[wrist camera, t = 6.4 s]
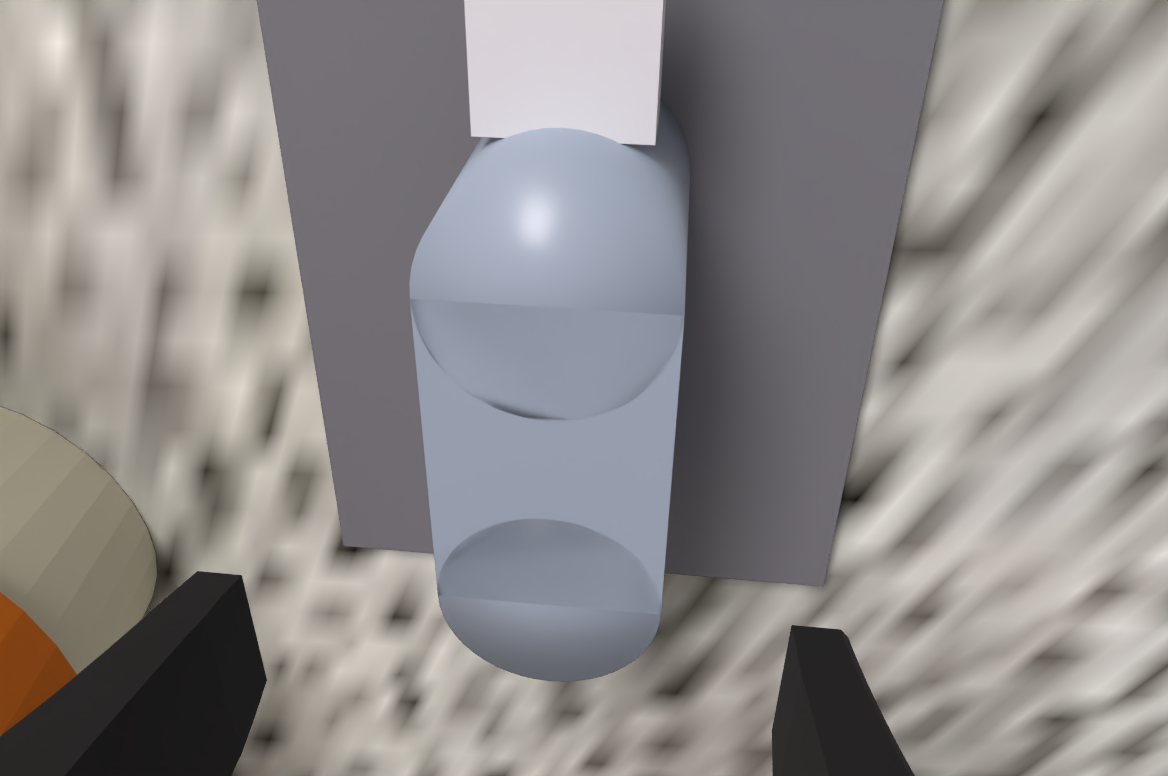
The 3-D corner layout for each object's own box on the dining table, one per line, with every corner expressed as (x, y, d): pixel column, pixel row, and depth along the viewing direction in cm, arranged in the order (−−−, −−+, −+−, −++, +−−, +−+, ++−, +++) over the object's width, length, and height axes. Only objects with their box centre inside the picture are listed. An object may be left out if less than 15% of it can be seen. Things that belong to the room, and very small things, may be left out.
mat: (821, 572, 24) (823, 586, 24) (349, 532, 25) (343, 545, 25) (970, -170, 15) (978, -168, 15) (238, -188, 16) (226, -186, 16)
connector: (665, 503, 23) (654, 690, 18) (497, 490, 23) (445, 670, 19) (711, -105, 16) (713, -49, 11) (469, -112, 16) (375, -60, 12)
